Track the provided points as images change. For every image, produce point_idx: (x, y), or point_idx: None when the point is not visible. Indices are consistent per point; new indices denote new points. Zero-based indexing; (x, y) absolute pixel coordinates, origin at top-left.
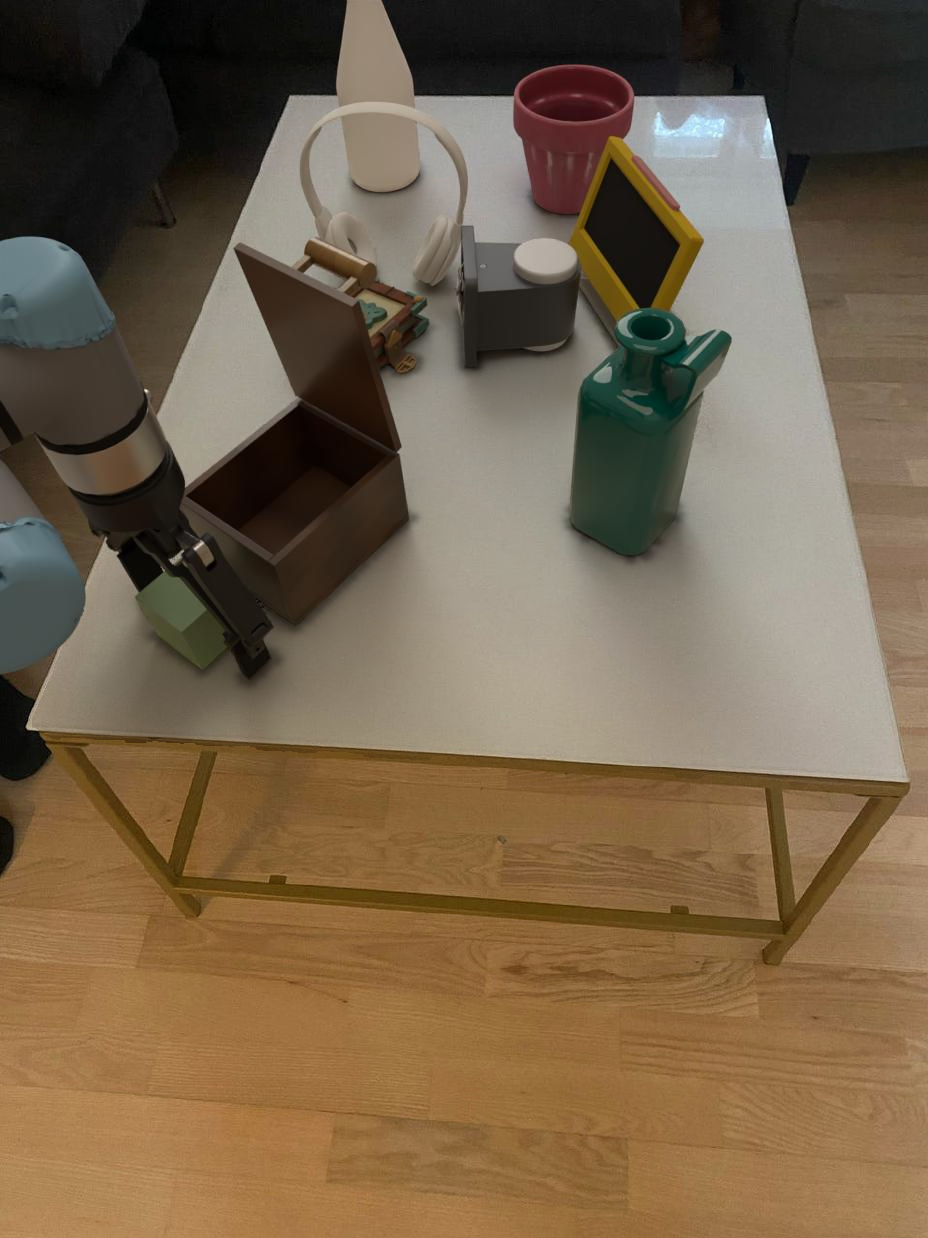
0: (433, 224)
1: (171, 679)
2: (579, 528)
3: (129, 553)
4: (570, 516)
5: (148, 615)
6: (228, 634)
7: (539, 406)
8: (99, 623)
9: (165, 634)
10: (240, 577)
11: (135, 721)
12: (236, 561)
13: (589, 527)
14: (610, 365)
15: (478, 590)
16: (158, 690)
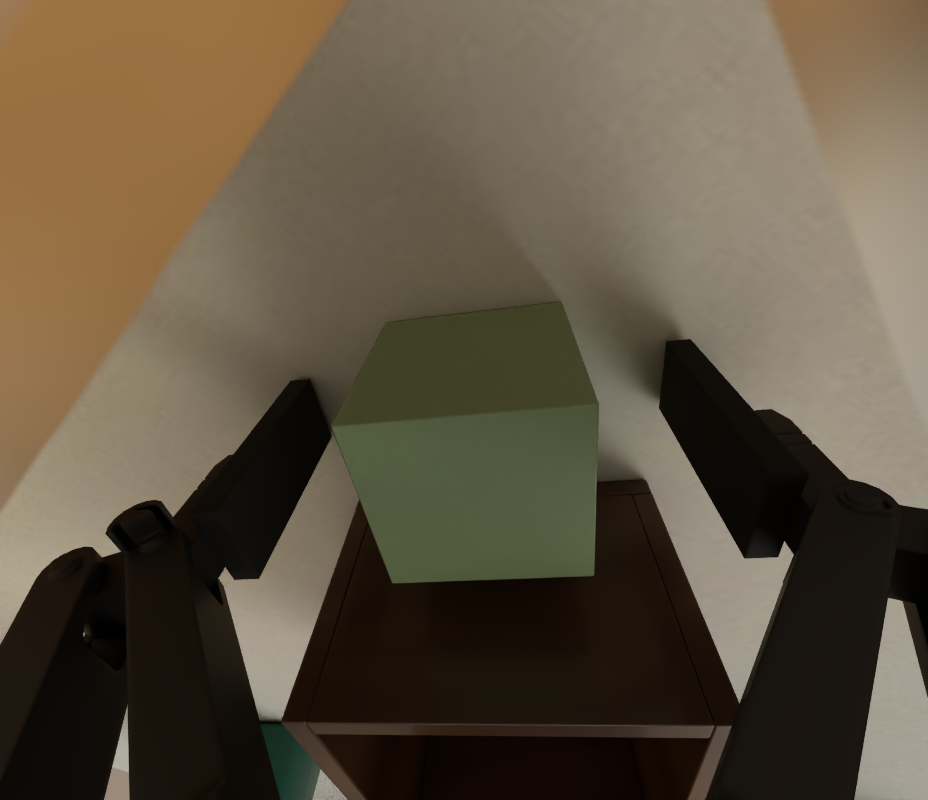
0: None
1: (415, 248)
2: (267, 731)
3: (761, 502)
4: (285, 738)
5: (553, 358)
6: (205, 519)
7: None
8: (754, 197)
9: (498, 335)
10: None
11: (351, 71)
12: (488, 589)
13: None
14: None
15: (258, 647)
16: (407, 199)
